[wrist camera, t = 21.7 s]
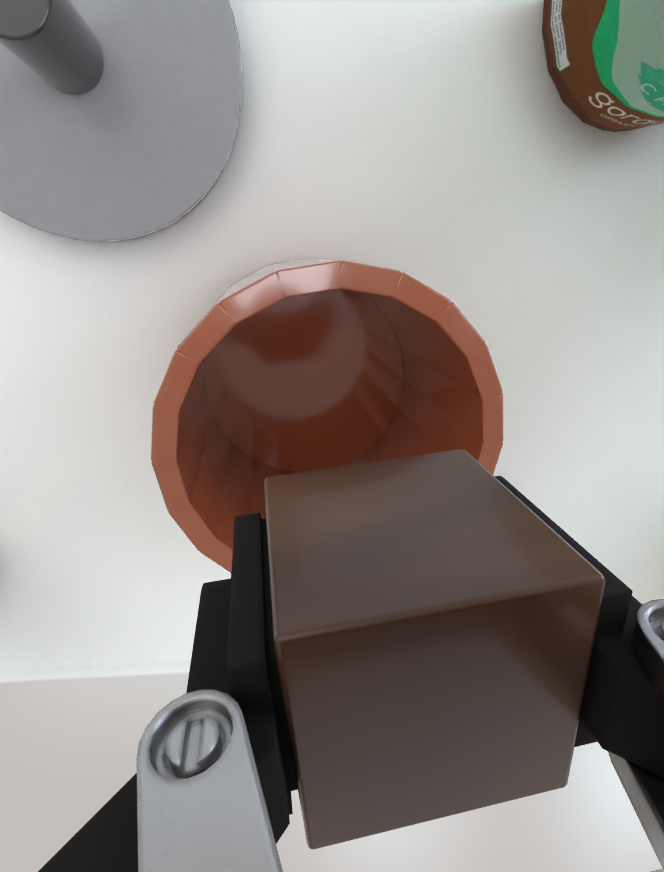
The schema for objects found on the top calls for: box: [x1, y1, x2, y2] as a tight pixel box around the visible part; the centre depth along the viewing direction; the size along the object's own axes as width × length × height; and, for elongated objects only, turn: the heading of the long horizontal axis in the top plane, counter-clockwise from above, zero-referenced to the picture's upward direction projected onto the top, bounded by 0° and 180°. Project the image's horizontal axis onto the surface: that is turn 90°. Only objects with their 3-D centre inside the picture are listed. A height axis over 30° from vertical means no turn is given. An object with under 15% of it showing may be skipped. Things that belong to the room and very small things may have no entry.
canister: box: [151, 259, 503, 572], centre depth 20 cm, size 12×12×10 cm
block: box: [264, 449, 605, 849], centre depth 9 cm, size 4×4×4 cm
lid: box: [0, 0, 242, 242], centre depth 16 cm, size 13×13×6 cm
